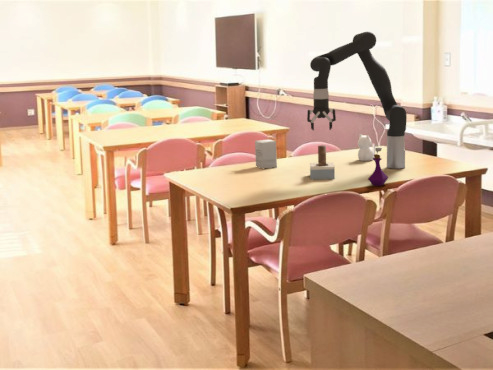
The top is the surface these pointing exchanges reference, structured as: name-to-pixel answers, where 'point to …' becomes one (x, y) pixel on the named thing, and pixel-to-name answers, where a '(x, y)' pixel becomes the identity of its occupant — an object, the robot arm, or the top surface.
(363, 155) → the cat figurine
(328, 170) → the grey box cream lid
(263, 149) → the supplement box
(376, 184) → the perfume bottle
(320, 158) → the walnut peg
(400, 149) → the robot arm
